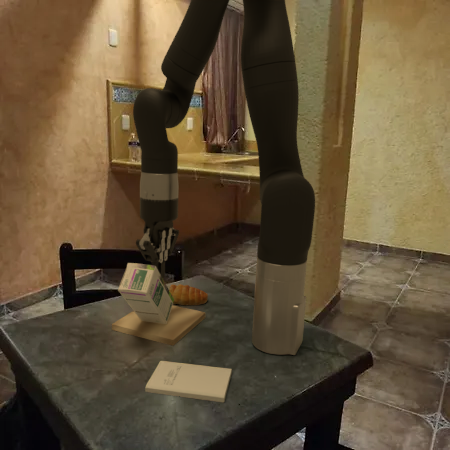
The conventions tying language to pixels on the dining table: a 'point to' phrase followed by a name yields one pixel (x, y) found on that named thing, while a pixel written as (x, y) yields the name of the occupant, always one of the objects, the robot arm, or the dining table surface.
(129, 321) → the board
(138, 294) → the syrup box
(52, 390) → the dining table surface
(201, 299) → the pastry
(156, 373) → the external hard drive
